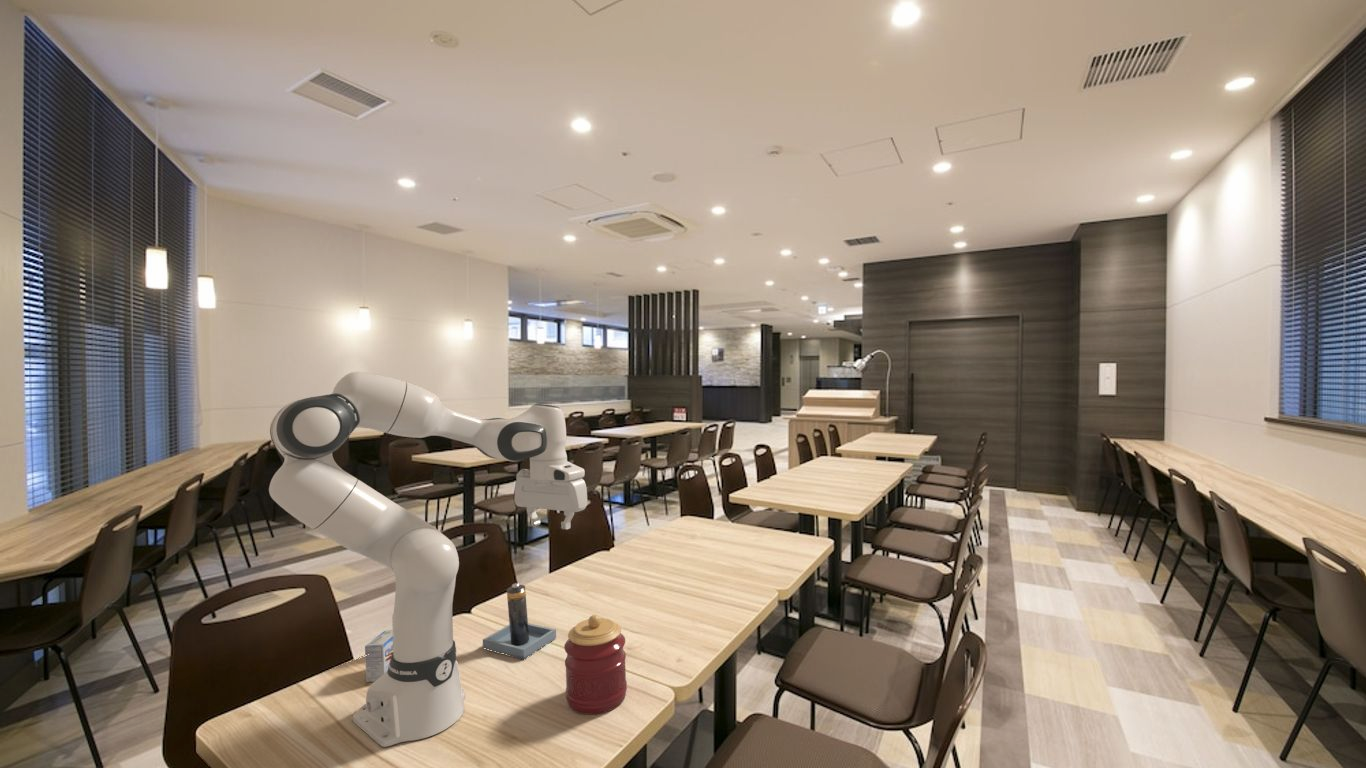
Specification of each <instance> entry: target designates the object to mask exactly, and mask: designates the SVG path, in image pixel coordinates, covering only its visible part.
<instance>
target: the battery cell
mask: <svg viewBox="0 0 1366 768" xmlns="http://www.w3.org/2000/svg"><path fill="white" fill-rule="evenodd" d="M526 594H527V593H526V585H523V584H520V583H518V582H515V583H513V584H512V585H511V586H509V587H508V588H507V589H506V598H507V610H508V611H507V612H508V622H509V624H510V637H511V644H512V645H514V646H518V645H523V644H525V643H527V642H528V641H529V630H528V623H529V621H528V619H529V618H528V608H527V606H528V605H527V595H526ZM509 624H508V625H509Z"/></svg>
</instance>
